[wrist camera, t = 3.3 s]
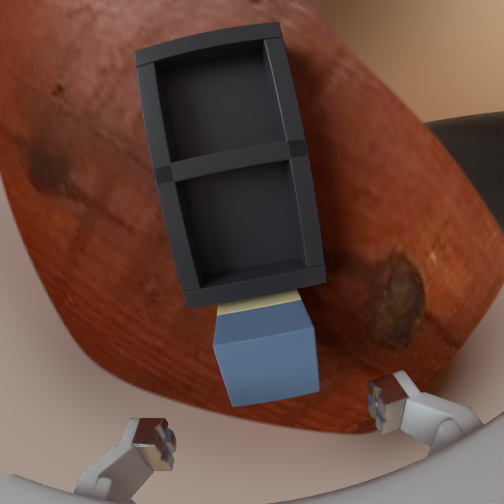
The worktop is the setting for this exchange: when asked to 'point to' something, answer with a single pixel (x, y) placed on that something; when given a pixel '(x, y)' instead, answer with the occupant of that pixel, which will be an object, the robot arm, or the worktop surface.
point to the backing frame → (231, 164)
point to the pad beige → (258, 302)
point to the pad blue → (267, 353)
